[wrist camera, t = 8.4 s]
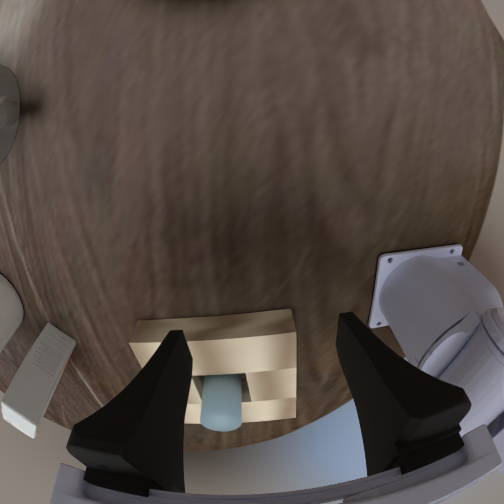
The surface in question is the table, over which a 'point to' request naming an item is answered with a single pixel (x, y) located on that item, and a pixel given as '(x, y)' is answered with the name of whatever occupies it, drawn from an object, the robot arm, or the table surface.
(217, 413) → the peg
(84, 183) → the table surface
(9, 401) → the skincare box
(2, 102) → the coffee mug
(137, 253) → the table surface
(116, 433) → the robot arm
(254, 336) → the socket block
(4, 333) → the pill bottle
